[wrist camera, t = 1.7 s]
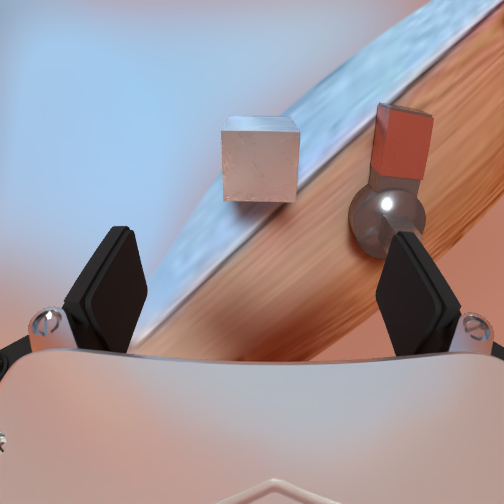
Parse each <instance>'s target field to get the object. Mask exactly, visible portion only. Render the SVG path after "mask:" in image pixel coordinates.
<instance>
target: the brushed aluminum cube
mask: <svg viewBox="0 0 504 504" xmlns="http://www.w3.org/2000/svg"><path fill="white" fill-rule="evenodd" d="M221 140H222V174H223V201H252V202H296V192H297V178H298V163H299V147H300V131H299V129H298V128H297V126H296V124H295V123H294V121H293V119H292V118H291V117H281V116H229V118H228V119H227V121H226V123H225V125H224V127H223V129H222V131H221Z"/></svg>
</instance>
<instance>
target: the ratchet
mask: <svg viewBox="0 0 504 504" xmlns="http://www.w3.org/2000/svg"><path fill="white" fill-rule="evenodd" d="M433 121H434V118H432V115H430V114H428V113H425V112H423V111H420V110H417V109H412V108H407V107H402V106H396V105H390V104H385V103H379V105H378V110H377V120H376V128H375V137H374V144H373V152H372V159H371V172H370V178H369V184H367V185H366V186H365V187H363V188H362V189H361V190H360V191H359V192H358V193H357V194H356V196H355V197H354V199H353V201H352V203H351V205H350V209H349V223H350V226H351V229H352V231H353V233H354V235H355V237H356V239H357V241H358V243H359V245H360V247H361V248H362V250H363V251H364V252H365V253H367V254H368V255H370V256H372V257H375V258H379V259H386V257H387V254H388V250H389V247H390V243H391V239H392V237H393V235H396V234H397V233H398V232H399V231H406V232H414V233H415V235H416V236H417V238H418V239H419V241H420V242H421V240H422V237H423V236H422V233H423V231H424V227H425V221H426V216H425V211H424V208H423V206H422V204H421V203H420V201H419V200H418V199H417V194H418V189H419V185H420V180H423V176H424V171H425V167H426V162H427V156H428V151H429V146H430V140H431V134H432V127H433Z"/></svg>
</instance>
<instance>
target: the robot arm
mask: <svg viewBox="0 0 504 504" xmlns="http://www.w3.org/2000/svg"><path fill="white" fill-rule="evenodd" d="M147 291H148V290H147V284H146V280H145V276H144V272H143V269H142V265H141V261H140V256H139V251H138V247H137V243H136V238H135V234H134V231H133V230H130V229H129V227H127V226H113V227H112V228H111V229H110V231H109V232H108V234H107V235H106V236H105V238H104V239H103V241H102V242H101V244H100V245H99V246H98V248H97V249H96V251H95V252H94V254H93V255H92V257H91V258H90V260H89V262H88V263H87V264H86V266H85V268H84V269H83V271H82V272H81V274H80V275H79V277H78V278H77V280H76V282H75V283H74V285H73V287H72V288H71V290H70V291H69V293H68V295H67V297H66V298H65V300H64V302H65V303H64V305H63V307H62V308H60V307H55V306H54V307H47V308H44V309H42V310H40V311H38V312H37V313H36V314H35V315H34V316H33V317H32V319H31V320H30V322H29V325H28V333H29V335H27V336H25V337H23V338H21V339H20V340H18V341H16V342H14V343H12V344H10V345H9V346H7V347H5V348H3V349H1V350H0V504H504V347H502V346H501V345H499V344H497V343H496V342H494V341H493V339H494V331H493V328H492V326H491V325H490V323H489V322H488V321H487V320H486V319H485V318H484V317H482V316H481V315H479V314H476V313H472V312H467V313H464V314H463V315H462V314H461V313H460V308H461V305H460V303H459V302H458V300H457V298H456V296H455V295H454V293H453V291H452V290H451V288H450V286H449V285H448V283H447V282H446V280H445V278H444V277H443V275H442V274H441V272H440V270H439V269H438V268H437V266H436V264H435V263H434V261H433V260H432V258H431V257H430V255H429V254H428V252H427V251H426V249H425V248H424V246H423V245H422V243H421V242H420V241H419V239H418V238H417V236H416V235H415V233H414V232H406V231H399V232H398V233H397V234H396V235H393V237H392V239H391V243H390V247H389V250H388V254H387V257H386V261H385V264H384V267H383V271H382V274H381V277H380V280H379V283H378V287H377V290H376V301H377V303H378V306H379V309H380V311H381V314H382V317H383V320H384V322H385V325H386V328H387V330H388V334H389V337H390V339H391V342H392V345H393V348H394V351H395V354H396V357H385V358H373V359H358V360H339V361H314V362H313V361H311V362H245V361H217V360H197V359H182V358H169V357H157V356H147V355H136V354H126V352H127V350H128V347H129V344H130V341H131V338H132V335H133V332H134V330H135V327H136V324H137V321H138V319H139V316H140V313H141V310H142V308H143V305H144V302H145V300H146V297H147Z"/></svg>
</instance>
